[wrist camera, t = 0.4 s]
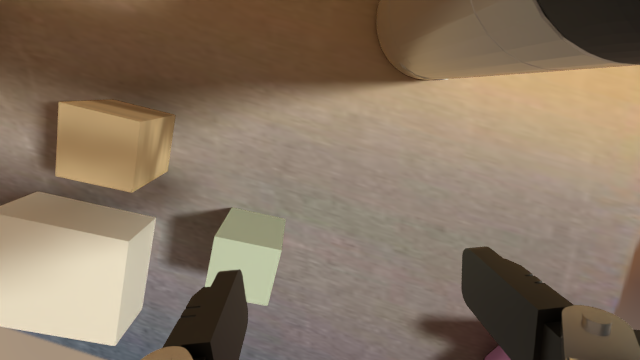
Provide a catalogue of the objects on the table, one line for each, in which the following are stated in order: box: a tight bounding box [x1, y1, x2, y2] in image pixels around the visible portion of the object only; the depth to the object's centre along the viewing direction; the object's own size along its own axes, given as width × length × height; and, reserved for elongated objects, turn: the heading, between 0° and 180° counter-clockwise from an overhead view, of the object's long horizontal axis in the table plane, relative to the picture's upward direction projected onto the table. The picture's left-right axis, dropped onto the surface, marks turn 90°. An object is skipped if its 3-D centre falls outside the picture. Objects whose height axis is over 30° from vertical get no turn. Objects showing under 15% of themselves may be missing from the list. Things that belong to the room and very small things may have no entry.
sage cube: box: [205, 207, 286, 306], centre depth 27 cm, size 5×5×6 cm
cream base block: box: [0, 191, 156, 346], centre depth 27 cm, size 10×10×5 cm
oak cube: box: [55, 99, 175, 193], centre depth 24 cm, size 5×5×6 cm
